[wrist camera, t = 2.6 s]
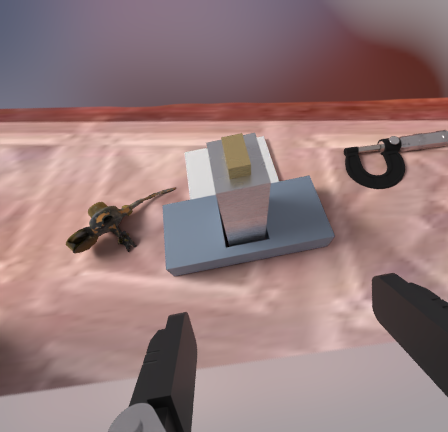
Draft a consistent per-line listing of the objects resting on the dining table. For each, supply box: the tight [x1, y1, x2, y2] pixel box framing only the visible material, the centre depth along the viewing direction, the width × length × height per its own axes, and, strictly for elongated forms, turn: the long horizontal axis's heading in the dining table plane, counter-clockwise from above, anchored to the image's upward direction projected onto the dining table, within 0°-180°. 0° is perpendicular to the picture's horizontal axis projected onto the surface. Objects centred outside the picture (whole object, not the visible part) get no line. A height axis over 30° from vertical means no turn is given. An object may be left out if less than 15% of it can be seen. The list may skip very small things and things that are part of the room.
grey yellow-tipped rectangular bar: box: [207, 133, 271, 247], centre depth 23 cm, size 4×5×14 cm
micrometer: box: [344, 130, 448, 189], centre depth 31 cm, size 15×7×3 cm, turn 95°
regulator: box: [66, 187, 176, 253], centre depth 31 cm, size 8×4×15 cm
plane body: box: [163, 176, 335, 276], centre depth 28 cm, size 18×8×3 cm, turn 100°
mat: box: [185, 136, 279, 200], centre depth 34 cm, size 12×9×1 cm
